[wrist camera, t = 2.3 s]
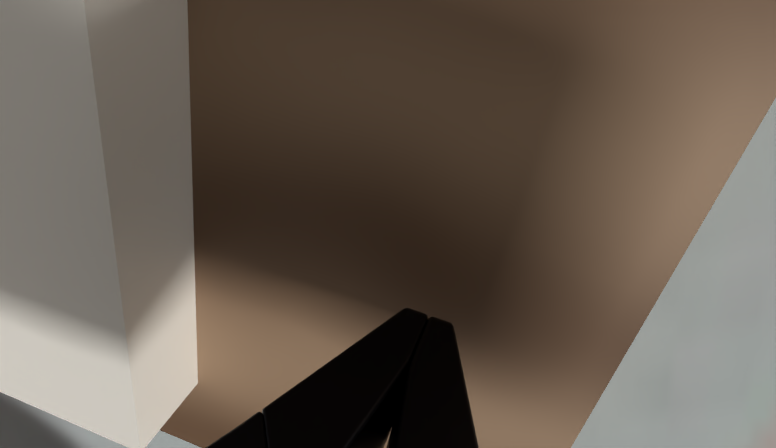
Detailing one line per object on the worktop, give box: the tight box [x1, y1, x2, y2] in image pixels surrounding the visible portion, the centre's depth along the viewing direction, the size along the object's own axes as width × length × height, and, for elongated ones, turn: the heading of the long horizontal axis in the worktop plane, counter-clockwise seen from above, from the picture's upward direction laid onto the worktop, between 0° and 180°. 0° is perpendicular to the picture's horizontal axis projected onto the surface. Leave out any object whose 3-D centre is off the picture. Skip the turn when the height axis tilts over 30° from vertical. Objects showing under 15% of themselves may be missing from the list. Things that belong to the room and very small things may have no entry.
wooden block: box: [160, 0, 776, 448], centre depth 12 cm, size 14×19×4 cm
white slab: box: [0, 0, 198, 448], centre depth 10 cm, size 9×6×2 cm, turn 170°
